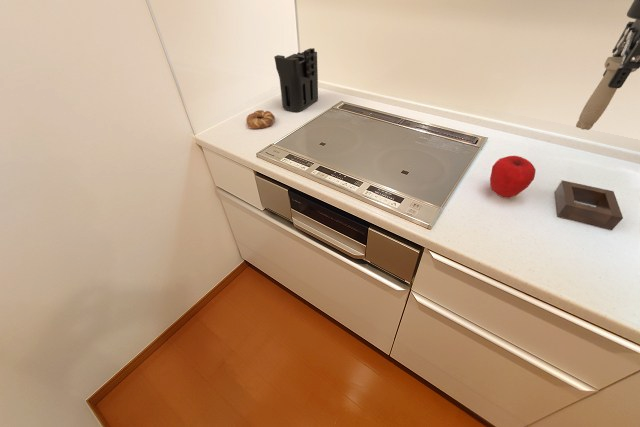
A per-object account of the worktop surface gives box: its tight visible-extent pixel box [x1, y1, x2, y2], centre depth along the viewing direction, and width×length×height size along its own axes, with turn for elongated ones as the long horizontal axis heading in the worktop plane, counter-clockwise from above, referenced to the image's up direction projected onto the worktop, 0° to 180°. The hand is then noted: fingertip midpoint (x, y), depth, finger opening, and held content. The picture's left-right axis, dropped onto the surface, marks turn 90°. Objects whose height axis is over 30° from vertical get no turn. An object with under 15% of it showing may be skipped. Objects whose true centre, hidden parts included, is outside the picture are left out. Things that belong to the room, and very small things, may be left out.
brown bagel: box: [245, 109, 276, 130], centre depth 114 cm, size 12×11×4 cm
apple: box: [489, 155, 536, 199], centre depth 77 cm, size 10×10×11 cm
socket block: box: [554, 179, 624, 231], centre depth 73 cm, size 11×11×4 cm
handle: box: [575, 56, 638, 131], centre depth 67 cm, size 5×6×15 cm
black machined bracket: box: [273, 47, 319, 113], centre depth 122 cm, size 12×21×22 cm, turn 149°
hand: (610, 82), depth 65 cm, fingers closed on handle, 6 cm apart
